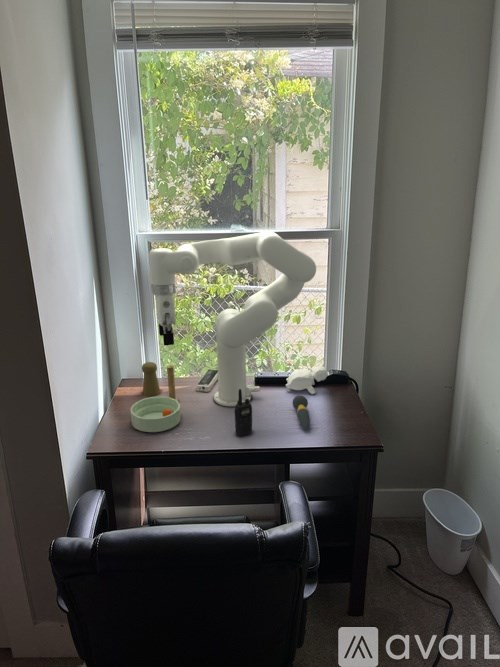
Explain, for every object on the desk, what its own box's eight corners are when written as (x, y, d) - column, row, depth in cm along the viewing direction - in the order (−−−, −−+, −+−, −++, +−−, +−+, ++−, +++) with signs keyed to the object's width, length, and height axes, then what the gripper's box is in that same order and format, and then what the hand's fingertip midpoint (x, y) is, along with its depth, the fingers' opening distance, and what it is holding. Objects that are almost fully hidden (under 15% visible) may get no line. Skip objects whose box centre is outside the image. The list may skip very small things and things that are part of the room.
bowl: (176, 407, 171) (175, 393, 169) (184, 429, 157) (183, 414, 155) (130, 414, 167) (128, 400, 165) (134, 437, 153) (132, 422, 151)
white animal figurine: (291, 401, 180) (332, 388, 177) (282, 380, 178) (323, 367, 175) (292, 390, 188) (331, 378, 185) (283, 370, 186) (323, 357, 183)
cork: (154, 386, 186) (151, 358, 182) (163, 392, 182) (161, 363, 178) (139, 392, 182) (136, 363, 179) (148, 397, 178) (146, 368, 174)
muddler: (176, 399, 176) (174, 364, 172) (178, 403, 174) (175, 367, 169) (167, 400, 176) (164, 365, 171) (168, 404, 173) (166, 369, 168)
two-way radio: (238, 438, 152) (237, 392, 147) (231, 431, 155) (230, 386, 150) (254, 433, 154) (254, 388, 149) (247, 427, 158) (246, 382, 153)
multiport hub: (219, 375, 195) (219, 370, 194) (208, 392, 181) (208, 386, 181) (208, 374, 196) (208, 369, 195) (196, 390, 182) (196, 385, 182)
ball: (171, 415, 164) (170, 406, 163) (172, 419, 162) (172, 411, 161) (162, 416, 164) (161, 408, 163) (163, 421, 161) (162, 412, 160)
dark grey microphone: (318, 432, 154) (319, 417, 153) (302, 433, 154) (302, 418, 152) (304, 402, 173) (304, 389, 171) (289, 403, 172) (289, 390, 171)
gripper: (180, 294, 154) (182, 347, 160) (170, 281, 170) (173, 330, 175) (154, 296, 152) (158, 350, 158) (148, 283, 168) (151, 332, 173)
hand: (166, 339), depth 166 cm, fingers open, 9 cm apart
